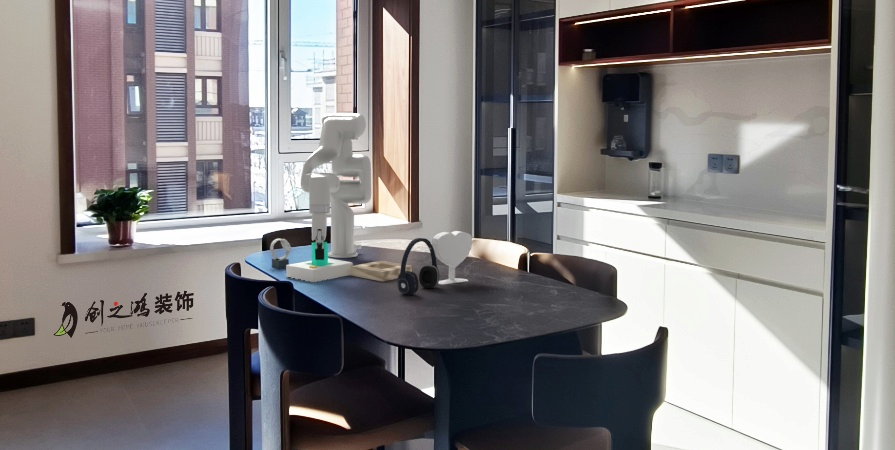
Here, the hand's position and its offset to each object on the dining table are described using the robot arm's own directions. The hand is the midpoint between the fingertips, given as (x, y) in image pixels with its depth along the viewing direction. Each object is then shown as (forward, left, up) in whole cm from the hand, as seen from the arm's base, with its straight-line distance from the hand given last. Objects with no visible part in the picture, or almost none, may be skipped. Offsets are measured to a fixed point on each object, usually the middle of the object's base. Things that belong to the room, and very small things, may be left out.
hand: (319, 257), depth 320 cm
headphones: (-4, +44, -7) cm, 45 cm away
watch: (-2, -24, -7) cm, 25 cm away
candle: (0, 0, -5) cm, 5 cm away
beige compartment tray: (-16, +16, -7) cm, 24 cm away
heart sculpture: (-25, +42, -7) cm, 49 cm away
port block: (0, 0, -7) cm, 7 cm away
